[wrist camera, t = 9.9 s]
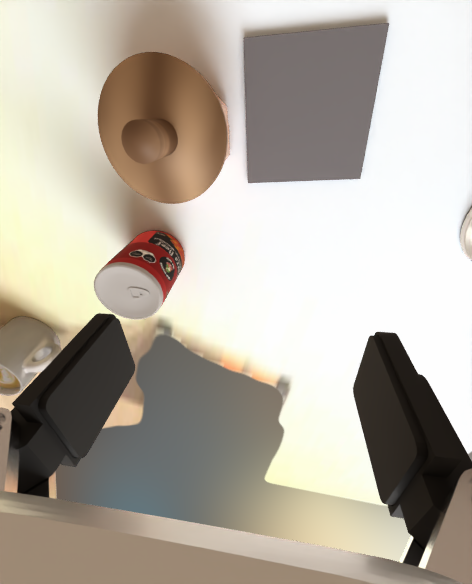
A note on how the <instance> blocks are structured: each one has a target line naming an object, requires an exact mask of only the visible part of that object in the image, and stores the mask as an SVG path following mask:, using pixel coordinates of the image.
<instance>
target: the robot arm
mask: <svg viewBox="0 0 472 584" xmlns="http://www.w3.org/2000/svg"><path fill="white" fill-rule="evenodd" d="M460 243H461V247H462V250H463V252H464V254H465V255H466V256H467V257H468V258H469V259H470V260H471V261H472V208H471V210H470V211H469V213H468V214H467V216H466V218H465V220H464V223H463V225H462V229H461V233H460ZM134 371H135V364H134V361H133V358H132V355H131V352H130V349H129V347H128V344H127V341H126V338H125V335H124V332H123V329H122V327H121V324H120V321H119V319H117V318H116V317H115V316H114V315H113V314H100V313H99V314H96V315H95V316H94V317H93V318H92V319H91V320H90V321H89V322H88V324H87V325H86V326H85V327H84V328H83V329H82V330H81V331H80V332H79V333H78V334H77V335H76V336H75V337H74V338H73V339H72V340H71V342H70V343H69V344H68V345H67V346H66V347H65V348H64V349H63V350H62V351H61V352H60V353H59V354H58V355H57V356H56V357H55V359H54V360H53V361H52V362H51V363H50V364H49V365H48V366H47V367H46V368H45V369H44V370H43V371H42V372H41V373H40V374H39V375H38V377H37V378H36V379H35V380H34V381H33V382H32V383H31V384H30V385H29V386H28V387H27V388H26V389H25V390H24V391H23V392H22V394H21V395H20V396H19V397H18V398H17V399H16V400H15V401H14V402H13V403H12V404H13V405H14V409H13V410H12V411H11V412H10V411H9V410H8V409H5V408H0V584H472V461H471V459H470V458H469V456H468V454H467V452H466V450H465V448H464V447H463V445H462V443H461V441H460V439H459V438H458V436H457V434H456V432H455V430H454V428H453V427H452V425H451V423H450V421H449V419H448V418H447V416H446V414H445V412H444V410H443V408H442V407H441V405H440V403H439V401H438V399H437V397H436V396H435V394H434V392H433V390H432V388H431V387H430V385H429V383H428V381H427V380H426V378H425V377H424V376H422V375H420V374H418V373H417V371H416V369H415V368H414V366H413V364H412V362H411V360H410V358H409V356H408V354H407V352H406V350H405V349H404V347H403V345H402V343H401V341H400V339H399V337H398V336H397V334H395V333H387V332H376V333H375V335H374V336H370V337H369V339H368V342H367V345H366V348H365V351H364V355H363V358H362V361H361V364H360V367H359V370H358V374H357V377H356V380H355V383H354V387H353V393H354V398H355V402H356V406H357V410H358V414H359V418H360V421H361V425H362V429H363V433H364V437H365V441H366V445H367V449H368V453H369V457H370V461H371V464H372V468H373V472H374V476H375V480H376V484H377V488H378V492H379V495H380V499H381V501H382V502H383V503H384V504H388V508H389V512H390V515H391V516H392V517H398V518H404V520H405V523H406V527H407V530H408V533H409V534H410V535H411V536H410V538H409V541H408V543H407V545H406V548H405V550H404V552H403V554H402V556H401V559H400V561H399V562H397V561H393V560H389V559H385V558H379V557H375V556H370V555H365V554H360V553H355V552H350V551H345V550H340V549H335V548H329V547H325V546H320V545H314V544H309V543H303V542H298V541H292V540H287V539H281V538H276V537H270V536H265V535H259V534H254V533H248V532H243V531H237V530H232V529H226V528H220V527H215V526H209V525H204V524H198V523H192V522H186V521H181V520H175V519H169V518H164V517H158V516H153V515H147V514H141V513H135V512H130V511H124V510H118V509H112V508H106V507H101V506H94V505H89V504H83V503H77V502H71V501H65V500H59V499H57V498H56V474H55V471H56V469H57V468H58V466H59V465H60V464H62V465H66V466H72V467H76V466H77V464H78V462H79V461H80V459H81V458H83V457H85V456H86V455H87V453H88V452H89V450H90V448H91V446H92V445H93V443H94V441H95V440H96V438H97V436H98V434H99V433H100V431H101V429H102V427H103V426H104V424H105V422H106V421H107V419H108V417H109V415H110V414H111V412H112V410H113V408H114V407H115V405H116V403H117V402H118V400H119V398H120V396H121V395H122V393H123V391H124V389H125V388H126V386H127V384H128V383H129V381H130V379H131V377H132V376H133V374H134Z"/></svg>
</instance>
